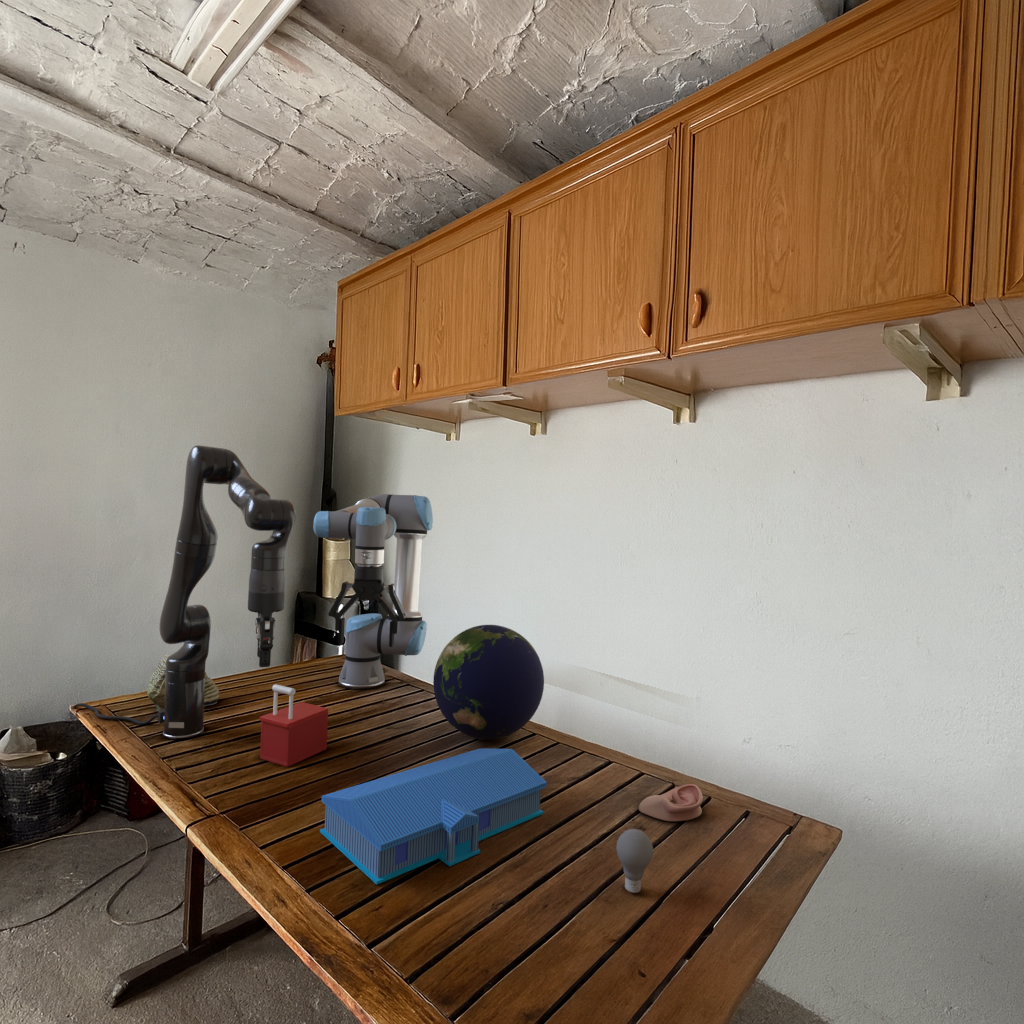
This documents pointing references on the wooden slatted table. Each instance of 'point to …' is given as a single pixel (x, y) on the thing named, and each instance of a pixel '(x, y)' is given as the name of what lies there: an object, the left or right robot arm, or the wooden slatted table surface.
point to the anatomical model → (674, 804)
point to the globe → (488, 681)
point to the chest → (293, 740)
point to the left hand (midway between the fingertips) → (263, 661)
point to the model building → (431, 811)
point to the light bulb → (634, 857)
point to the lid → (291, 710)
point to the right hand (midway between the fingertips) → (366, 644)
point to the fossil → (158, 687)
